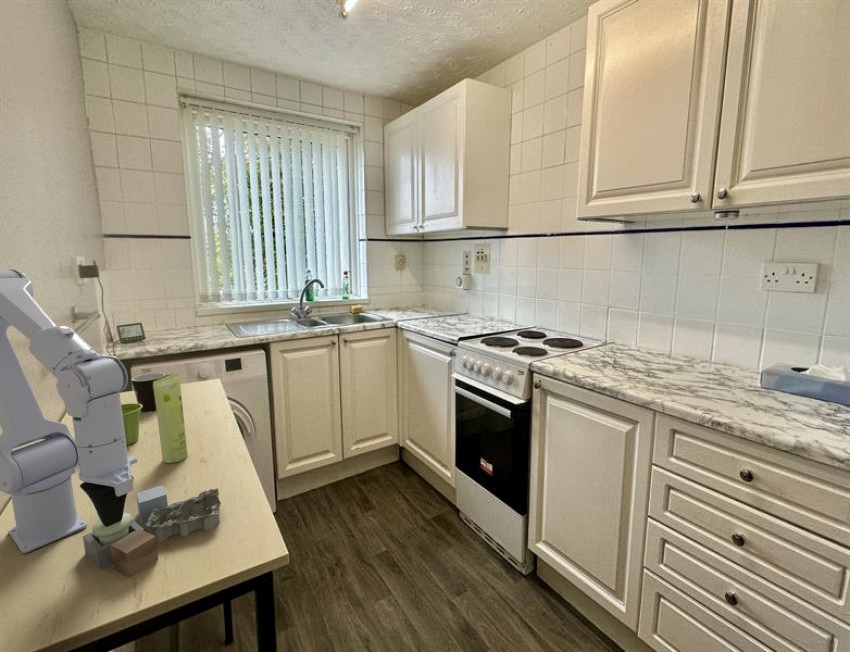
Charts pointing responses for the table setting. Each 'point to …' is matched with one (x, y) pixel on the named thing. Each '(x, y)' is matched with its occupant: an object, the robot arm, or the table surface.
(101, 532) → the green button
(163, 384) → the tube
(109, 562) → the button housing
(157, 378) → the coffee mug
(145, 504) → the slate-blue block
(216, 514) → the egg carton
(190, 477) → the table surface
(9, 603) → the table surface
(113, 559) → the walnut block
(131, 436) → the plant pot
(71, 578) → the table surface
